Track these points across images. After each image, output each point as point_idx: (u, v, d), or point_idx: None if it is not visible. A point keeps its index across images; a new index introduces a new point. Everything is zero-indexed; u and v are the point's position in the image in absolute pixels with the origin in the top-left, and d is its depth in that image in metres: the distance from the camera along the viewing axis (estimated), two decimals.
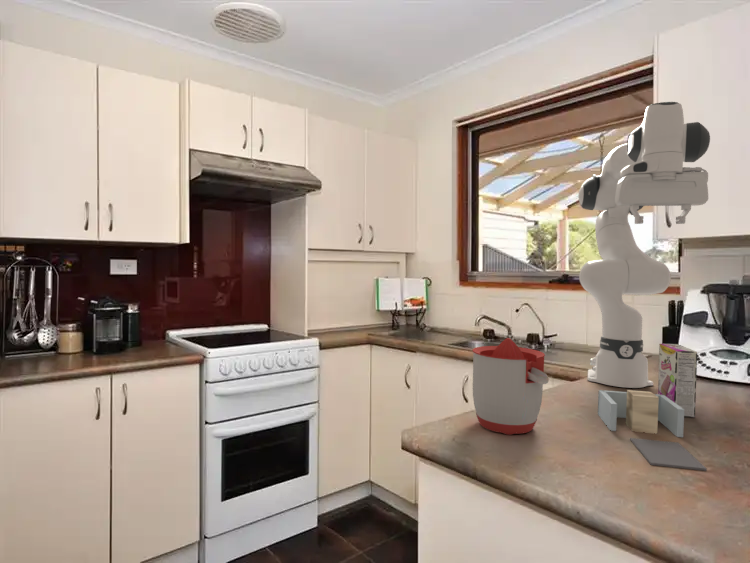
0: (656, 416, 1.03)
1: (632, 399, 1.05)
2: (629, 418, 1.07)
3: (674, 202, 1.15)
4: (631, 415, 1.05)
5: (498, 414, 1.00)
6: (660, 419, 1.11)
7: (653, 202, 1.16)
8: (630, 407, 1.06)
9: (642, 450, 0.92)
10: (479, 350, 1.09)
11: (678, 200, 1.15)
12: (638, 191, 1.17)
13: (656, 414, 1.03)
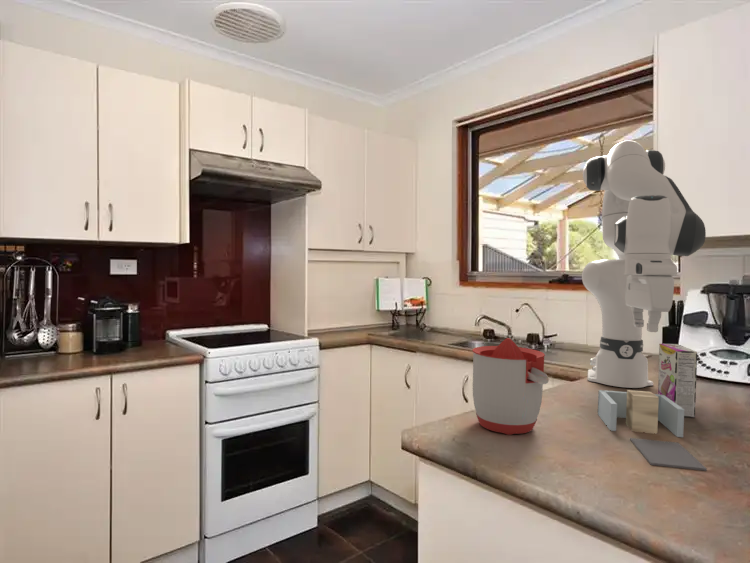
0: (656, 416, 1.03)
1: (632, 399, 1.05)
2: (629, 418, 1.07)
3: None
4: (631, 415, 1.05)
5: (498, 414, 1.00)
6: (660, 419, 1.11)
7: None
8: (630, 407, 1.06)
9: (642, 450, 0.92)
10: (479, 350, 1.09)
11: None
12: None
13: (656, 414, 1.03)
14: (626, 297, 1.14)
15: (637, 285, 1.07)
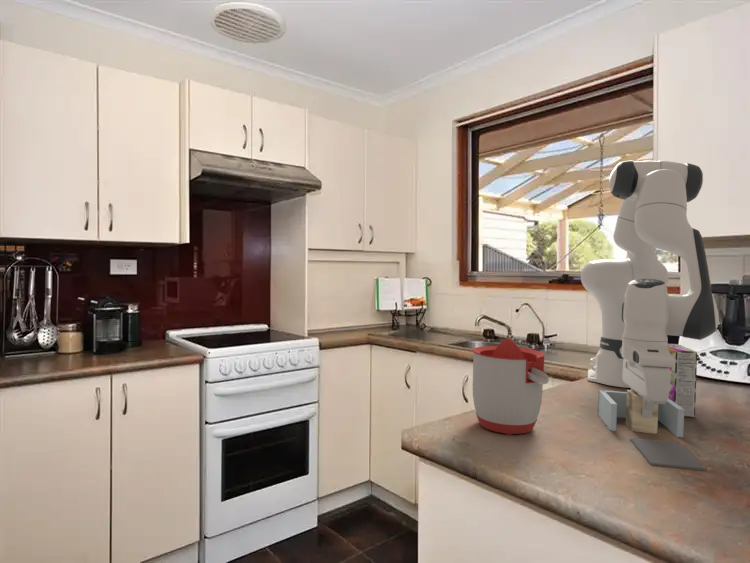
0: (656, 416, 1.03)
1: (632, 399, 1.05)
2: (629, 418, 1.07)
3: None
4: (631, 415, 1.05)
5: (498, 414, 1.00)
6: (660, 419, 1.11)
7: None
8: (630, 407, 1.06)
9: (642, 450, 0.92)
10: (479, 350, 1.09)
11: None
12: None
13: (656, 414, 1.03)
14: (623, 374, 1.14)
15: (634, 368, 1.07)
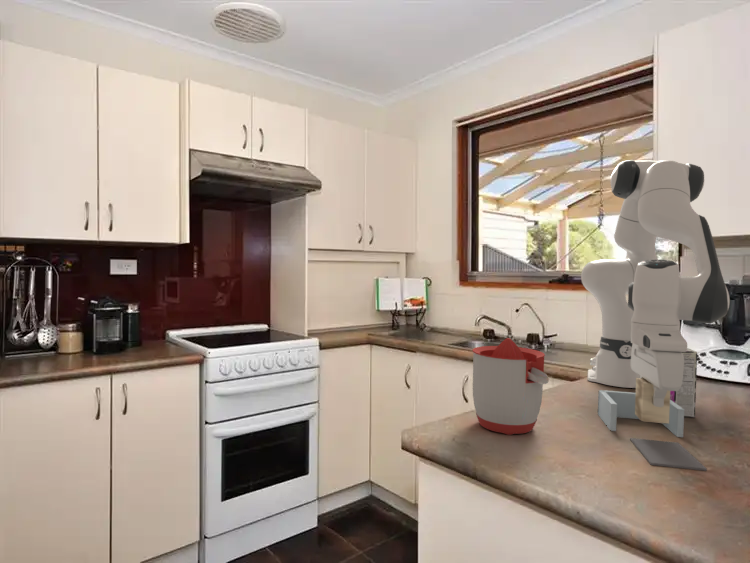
0: (668, 405, 0.97)
1: (642, 387, 0.99)
2: (639, 407, 1.00)
3: None
4: (641, 404, 0.99)
5: (498, 414, 1.00)
6: None
7: None
8: (640, 395, 1.00)
9: (642, 450, 0.92)
10: (479, 350, 1.09)
11: None
12: None
13: (668, 403, 0.97)
14: (632, 362, 1.08)
15: (644, 354, 1.01)
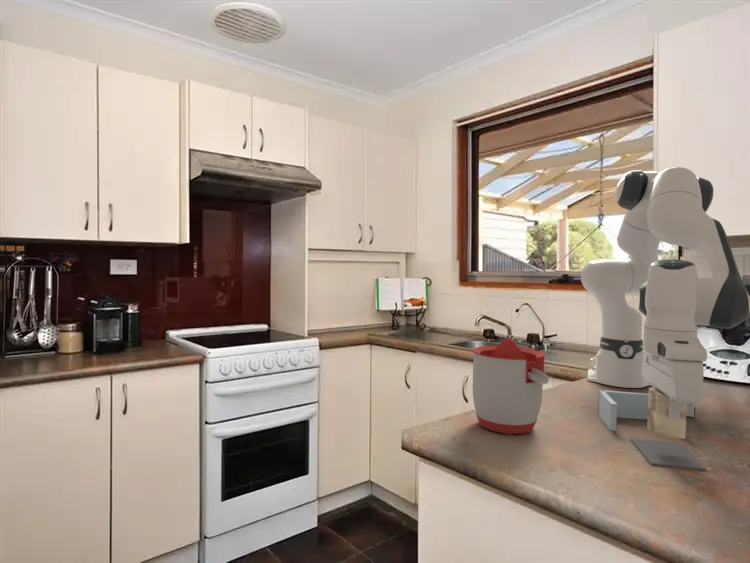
0: (684, 418, 0.89)
1: (655, 398, 0.90)
2: (652, 420, 0.92)
3: None
4: (654, 417, 0.91)
5: (498, 414, 1.00)
6: None
7: None
8: (653, 408, 0.92)
9: (642, 450, 0.92)
10: (479, 350, 1.09)
11: None
12: None
13: (684, 416, 0.89)
14: (643, 370, 1.00)
15: (657, 363, 0.93)
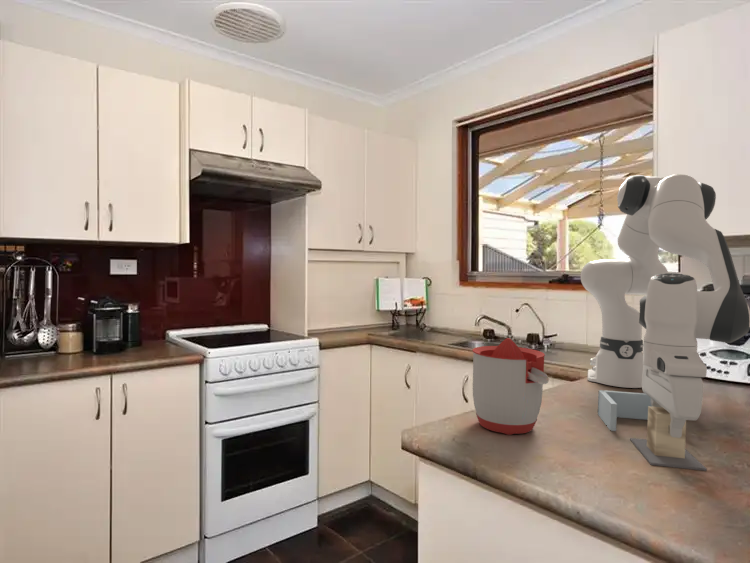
0: (683, 438, 0.89)
1: (655, 418, 0.90)
2: (651, 439, 0.92)
3: None
4: (654, 436, 0.91)
5: (498, 414, 1.00)
6: None
7: None
8: (652, 427, 0.92)
9: (642, 450, 0.92)
10: (479, 350, 1.09)
11: None
12: None
13: (683, 435, 0.89)
14: (643, 383, 1.00)
15: (657, 377, 0.93)
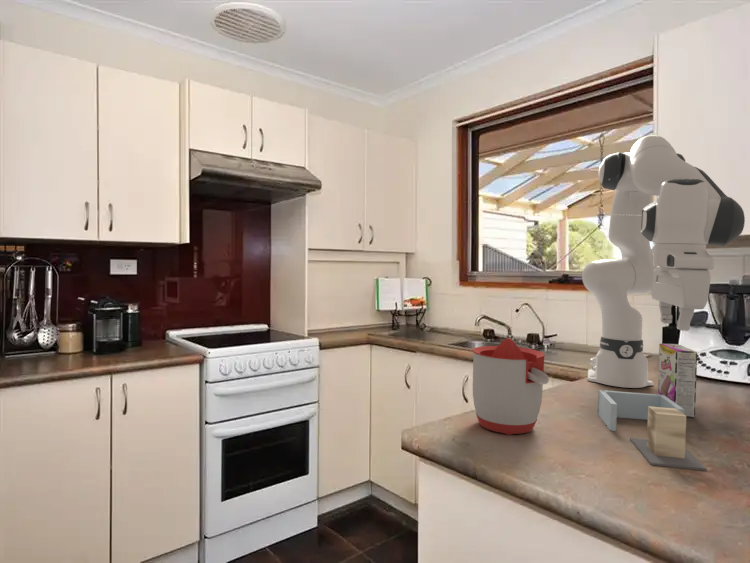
0: (683, 438, 0.89)
1: (655, 418, 0.90)
2: (651, 439, 0.92)
3: None
4: (654, 436, 0.91)
5: (498, 414, 1.00)
6: None
7: None
8: (652, 427, 0.92)
9: (642, 450, 0.92)
10: (479, 350, 1.09)
11: None
12: None
13: (683, 435, 0.89)
14: (653, 290, 1.05)
15: (667, 278, 0.97)
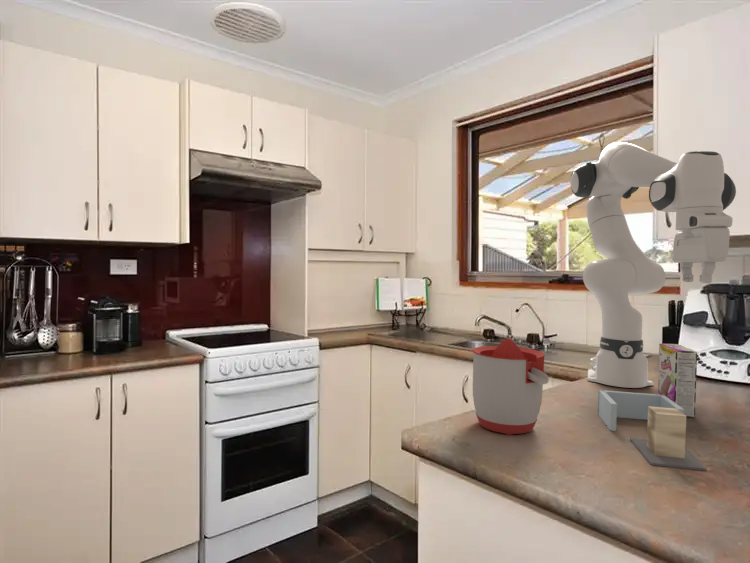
0: (683, 438, 0.89)
1: (655, 418, 0.90)
2: (651, 439, 0.92)
3: None
4: (654, 436, 0.91)
5: (498, 414, 1.00)
6: None
7: None
8: (652, 427, 0.92)
9: (642, 450, 0.92)
10: (479, 350, 1.09)
11: None
12: None
13: (683, 435, 0.89)
14: (674, 254, 1.17)
15: (688, 240, 1.09)
